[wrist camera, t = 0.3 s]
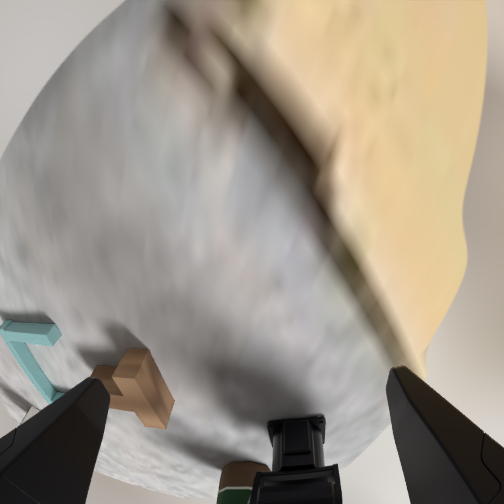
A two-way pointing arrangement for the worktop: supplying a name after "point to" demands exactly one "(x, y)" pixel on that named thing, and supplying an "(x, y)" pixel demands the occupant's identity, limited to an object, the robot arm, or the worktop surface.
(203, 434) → the worktop surface
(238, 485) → the beer bottle
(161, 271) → the worktop surface
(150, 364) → the t block
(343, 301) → the worktop surface
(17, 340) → the jig
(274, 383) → the worktop surface
